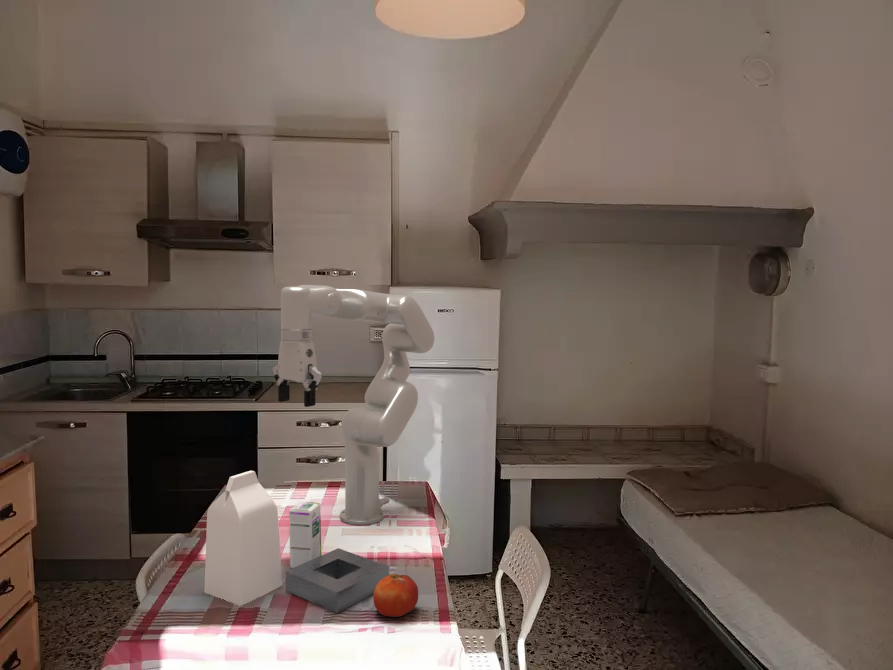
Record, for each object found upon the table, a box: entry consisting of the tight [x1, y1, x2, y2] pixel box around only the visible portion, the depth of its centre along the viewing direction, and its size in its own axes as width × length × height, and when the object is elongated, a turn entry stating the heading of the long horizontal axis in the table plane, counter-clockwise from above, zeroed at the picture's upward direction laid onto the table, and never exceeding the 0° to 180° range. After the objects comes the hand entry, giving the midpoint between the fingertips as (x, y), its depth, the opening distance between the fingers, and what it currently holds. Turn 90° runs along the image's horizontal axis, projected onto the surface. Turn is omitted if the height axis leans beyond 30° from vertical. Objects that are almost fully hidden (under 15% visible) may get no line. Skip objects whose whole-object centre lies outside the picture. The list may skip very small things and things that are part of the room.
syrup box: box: [288, 501, 322, 569], centre depth 165 cm, size 6×6×14 cm
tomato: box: [372, 573, 419, 618], centre depth 143 cm, size 9×9×8 cm
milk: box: [203, 470, 284, 605], centre depth 151 cm, size 12×12×26 cm
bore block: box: [285, 547, 390, 614], centre depth 153 cm, size 16×16×4 cm
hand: (296, 403), depth 174 cm, fingers open, 9 cm apart
